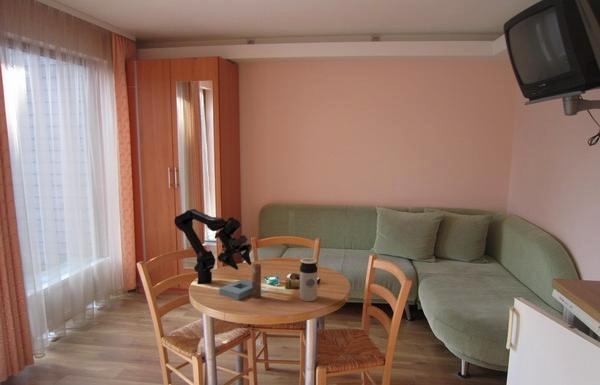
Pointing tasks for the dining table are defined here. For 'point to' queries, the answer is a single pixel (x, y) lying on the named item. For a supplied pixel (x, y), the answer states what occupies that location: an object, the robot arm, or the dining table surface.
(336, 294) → the dining table surface
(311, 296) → the travel mug
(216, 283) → the dining table surface
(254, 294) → the peg
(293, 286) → the gavel
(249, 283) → the socket board
